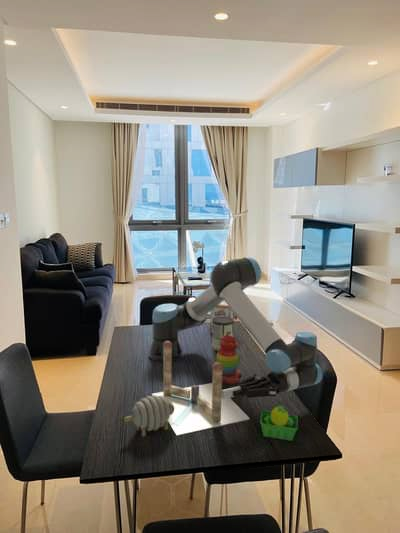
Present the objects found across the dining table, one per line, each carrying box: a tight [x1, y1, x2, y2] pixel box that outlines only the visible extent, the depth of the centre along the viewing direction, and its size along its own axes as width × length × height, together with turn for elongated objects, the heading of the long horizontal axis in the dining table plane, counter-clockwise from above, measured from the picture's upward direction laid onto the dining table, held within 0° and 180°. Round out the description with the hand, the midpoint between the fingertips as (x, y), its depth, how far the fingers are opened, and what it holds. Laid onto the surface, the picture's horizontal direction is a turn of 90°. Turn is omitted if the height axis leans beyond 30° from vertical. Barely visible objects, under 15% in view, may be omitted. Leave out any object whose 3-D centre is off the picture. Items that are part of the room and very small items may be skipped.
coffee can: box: [211, 317, 235, 352], centre depth 199 cm, size 10×10×14 cm
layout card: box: [151, 382, 251, 437], centre depth 146 cm, size 28×26×1 cm
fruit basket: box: [259, 405, 299, 441], centre depth 129 cm, size 11×9×11 cm
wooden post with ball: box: [162, 341, 199, 403], centre depth 149 cm, size 15×3×21 cm, turn 66°
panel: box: [197, 361, 223, 423], centre depth 138 cm, size 14×3×20 cm, turn 28°
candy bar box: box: [209, 302, 234, 334], centre depth 219 cm, size 11×5×16 cm, turn 66°
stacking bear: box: [215, 334, 242, 385], centre depth 167 cm, size 11×10×18 cm
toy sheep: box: [123, 395, 174, 438], centre depth 130 cm, size 11×17×11 cm, turn 125°
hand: (222, 394), depth 133 cm, fingers closed
